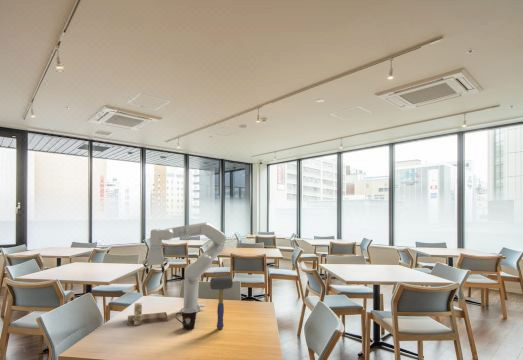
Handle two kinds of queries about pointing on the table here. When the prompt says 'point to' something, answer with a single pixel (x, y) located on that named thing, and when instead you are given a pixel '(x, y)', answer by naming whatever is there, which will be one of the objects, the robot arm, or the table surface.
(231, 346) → the table surface
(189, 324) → the coffee mug
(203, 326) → the table surface
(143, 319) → the walnut board
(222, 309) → the rubber mallet
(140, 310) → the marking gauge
